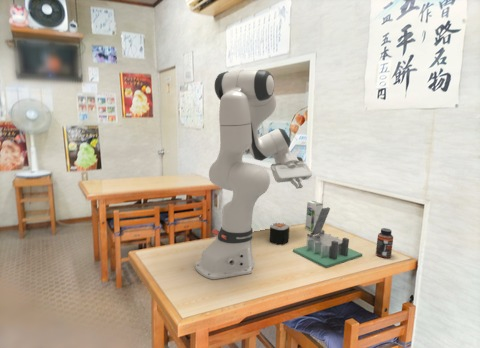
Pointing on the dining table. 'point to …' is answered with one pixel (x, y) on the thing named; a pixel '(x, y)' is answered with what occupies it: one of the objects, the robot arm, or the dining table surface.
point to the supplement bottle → (384, 243)
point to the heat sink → (322, 244)
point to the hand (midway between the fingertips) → (299, 187)
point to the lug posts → (335, 248)
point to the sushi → (279, 233)
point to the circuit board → (326, 261)
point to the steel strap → (321, 220)
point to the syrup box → (313, 213)
